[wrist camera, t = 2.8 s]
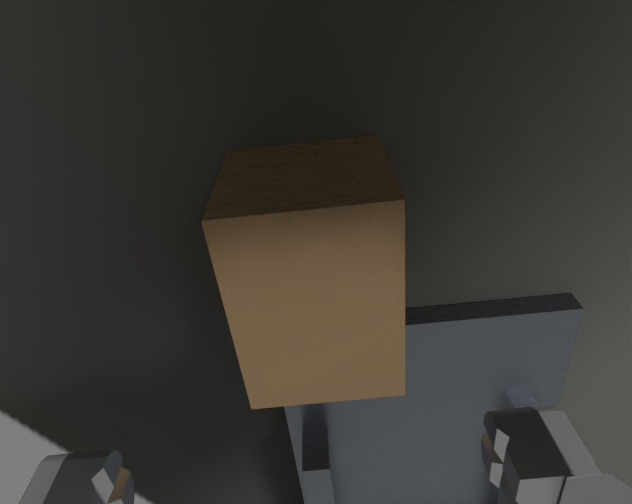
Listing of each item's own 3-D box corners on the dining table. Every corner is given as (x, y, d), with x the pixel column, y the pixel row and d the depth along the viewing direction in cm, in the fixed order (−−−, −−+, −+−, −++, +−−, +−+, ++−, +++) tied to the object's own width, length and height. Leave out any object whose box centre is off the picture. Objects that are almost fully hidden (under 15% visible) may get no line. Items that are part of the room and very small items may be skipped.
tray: (570, 293, 19) (620, 354, 16) (511, 540, 30) (534, 604, 27) (271, 321, 19) (265, 387, 17) (318, 555, 30) (320, 620, 27)
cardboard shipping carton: (376, 133, 15) (405, 199, 11) (382, 299, 19) (405, 395, 15) (227, 149, 16) (201, 220, 11) (262, 310, 19) (251, 409, 15)
